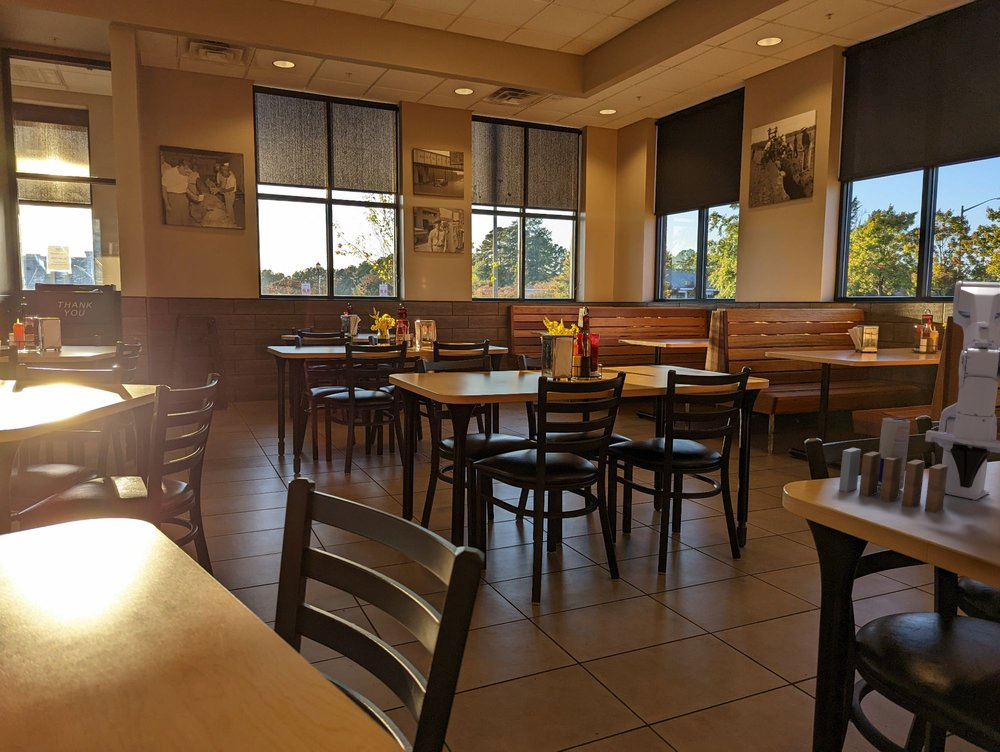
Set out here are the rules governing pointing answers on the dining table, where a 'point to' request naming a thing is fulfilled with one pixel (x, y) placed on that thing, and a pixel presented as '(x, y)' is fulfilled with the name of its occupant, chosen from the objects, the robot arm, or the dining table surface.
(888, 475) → the domino
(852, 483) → the domino
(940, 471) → the domino
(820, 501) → the dining table surface
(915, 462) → the domino
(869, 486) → the domino
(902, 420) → the white tall box
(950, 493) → the robot arm
